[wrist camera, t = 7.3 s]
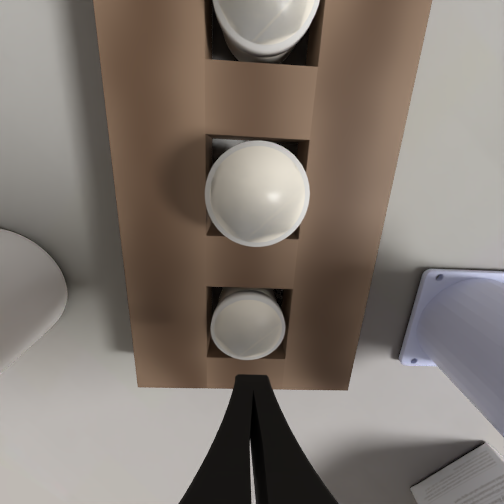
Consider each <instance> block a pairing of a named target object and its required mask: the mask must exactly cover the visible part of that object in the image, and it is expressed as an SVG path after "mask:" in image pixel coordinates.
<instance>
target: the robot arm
mask: <svg viewBox="0 0 504 504" xmlns="http://www.w3.org/2000/svg"><path fill="white" fill-rule="evenodd" d="M439 274H440V275H439ZM437 275H439V277H438V278H436V277H437ZM413 358H414V359H413ZM399 361H400V362H401V363H402V364H403V365H406V366H438V367H439V368H440V369H441V370H442V372H443V373H444V374H445V375H446V376H447V377H448V378H449V379H450V380H451V381H452V382H453V383H454V384H455V385H456V387H457V388H458V389H459V390H460V391H461V392H462V393H463V394H464V395H465V396H466V397H467V398H468V399H469V401H470V402H471V403H472V404H473V405H474V406H475V407H476V408H477V409H478V410H479V411H480V412H481V413H482V414H483V416H484V417H485V418H486V419H487V420H488V421H489V422H490V423H491V424H492V425H493V426H494V427H495V428H496V429H497V431H498V432H499V433H500V434H501V435H502V436H503V437H504V271H481V270H454V269H428V270H426V271H425V272H424V273H423V275H422V278H421V281H420V285H419V288H418V292H417V295H416V299H415V303H414V306H413V310H412V313H411V317H410V320H409V324H408V327H407V331H406V334H405V338H404V341H403V345H402V348H401V352H400V355H399ZM250 442H251V453H252V464H253V475H254V486H255V497H256V504H338V502H337V501H336V500H335V498H334V497H333V496H332V494H331V493H330V492H329V490H328V489H327V488H326V486H325V485H324V483H323V482H322V480H321V479H320V477H319V476H318V474H317V473H316V472H315V470H314V469H313V467H312V465H311V464H310V462H309V461H308V459H307V457H306V456H305V454H304V453H303V451H302V449H301V447H300V446H299V444H298V442H297V440H296V439H295V437H294V435H293V433H292V431H291V429H290V427H289V425H288V423H287V421H286V419H285V417H284V415H283V413H282V411H281V409H280V407H279V404H278V402H277V400H276V397H275V395H274V392H273V389H272V387H271V384H270V380H269V377H268V376H267V375H250V374H238V375H236V376H235V383H234V388H233V392H232V395H231V398H230V402H229V405H228V407H227V410H226V413H225V415H224V418H223V421H222V423H221V425H220V428H219V430H218V432H217V434H216V437H215V439H214V441H213V443H212V445H211V447H210V449H209V451H208V453H207V455H206V457H205V459H204V461H203V463H202V465H201V467H200V469H199V470H198V472H197V474H196V476H195V477H194V479H193V481H192V483H191V485H190V486H189V488H188V490H187V491H186V493H185V495H184V496H183V498H182V499H181V501H180V502H179V504H251V479H250Z"/></svg>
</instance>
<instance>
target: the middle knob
mask: <svg viewBox="0 0 504 504" xmlns="http://www.w3.org/2000/svg"><path fill="white" fill-rule="evenodd" d="M309 198H310V189H309V182H308V178H307V175H306V172H305V170H304V168H303V166H302V165H301V163H300V162H299V160H298V159H297V158H296V157H295V156H294V155H293V154H292V153H291V152H290V151H288V150H287V149H285V148H284V147H282V146H280V145H278V144H275V143H272V142H268V141H261V140H258V141H247V142H244V143H240V144H238V145H236V146H233V147H232V148H230V149H229V150H227V151H226V152H225V153H223V154H222V155H221V156H220V157H219V158H218V159H217V161H216V162H215V163H214V165H213V166H212V168H211V170H210V172H209V175H208V178H207V181H206V186H205V203H206V208H207V211H208V214H209V216H210V218H211V220H212V222H213V223H214V225H215V226H216V228H217V229H218V230H219V231H220V232H221V233H222V234H223V235H224V236H226V237H227V238H229V239H230V240H232V241H234V242H236V243H239V244H241V245H245V246H251V247H263V246H269V245H272V244H275V243H277V242H280V241H282V240H283V239H285V238H287V237H288V236H289V235H291V234H292V233H293V232H294V231H295V230H296V229H297V227H298V226H299V225H300V223H301V222H302V220H303V218H304V216H305V214H306V211H307V208H308V204H309Z"/></svg>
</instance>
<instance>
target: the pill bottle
mask: <svg viewBox="0 0 504 504" xmlns="http://www.w3.org/2000/svg"><path fill="white" fill-rule="evenodd" d="M66 303H67V286H66V282H65V279H64V276H63V274H62V272H61V270H60V268H59V267H58V265H57V264H56V262H55V261H54V260H53V259H52V257H51V256H50V255H49V254H48V253H47V252H46V251H45V250H43V249H42V248H41V247H40V246H38V245H37V244H36V243H34V242H33V241H31V240H29V239H28V238H26V237H24V236H22V235H19V234H17V233H14V232H11V231H8V230H4V229H0V374H1V373H2V372H3V371H4V370H5V369H7V368H8V367H9V366H10V365H11V364H12V363H13V362H14V361H15V360H16V359H18V358H19V357H20V356H21V355H22V354H23V353H24V352H25V351H26V350H27V349H29V348H30V347H31V346H32V345H33V344H34V343H35V342H36V341H37V340H38V339H39V338H41V337H42V336H43V335H44V334H45V333H46V332H47V331H48V330H49V329H50V328H51V327H52V326H53V325H54V324H55V323H56V322H57V321H58V319H59V318H60V317H61V315H62V313H63V312H64V309H65V307H66Z"/></svg>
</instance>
